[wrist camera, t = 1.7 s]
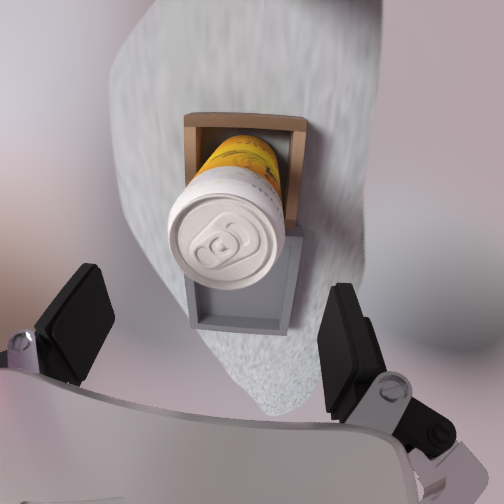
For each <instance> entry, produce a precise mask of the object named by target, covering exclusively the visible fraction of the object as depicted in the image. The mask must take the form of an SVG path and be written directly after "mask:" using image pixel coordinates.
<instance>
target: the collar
mask: <svg viewBox="0 0 504 504" xmlns="http://www.w3.org/2000/svg"><path fill="white" fill-rule="evenodd" d="M203 127H239V128H260V129H275V130H288V131H291V134H290V146H289V157H288V169H287V179H286V190H285V200H284V206H283V216H284V225H285V229H292V230H295V227H296V219H297V211H298V203H299V195H300V186H301V177H302V168H303V159H304V150H305V140H306V129H307V120H306V119H305V118H303V117H296V116H285V115H273V114H257V113H229V112H197V113H190V114H187V115H184V154H185V183H186V187H187V186H188V184H189V183H190V182H191V180H192V179H193V178H194V176H195V175H196V174H197V173H198V171H199V170H200V169H201V168H202V166H203Z"/></svg>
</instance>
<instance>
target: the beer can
mask: <svg viewBox="0 0 504 504" xmlns="http://www.w3.org/2000/svg"><path fill="white" fill-rule="evenodd" d="M168 236H169V247H170V251H171V254H172V257H173V259H174V261H175V262H176V264H177V265H178V267H179V268H180V269H181V270H182V271H183V272H184V273H185V274H186V275H187V276H188V277H189V278H191V279H192V280H194V281H195V282H197V283H199V284H201V285H204V286H206V287H209V288H213V289H219V290H236V289H241V288H245V287H248V286H250V285H253V284H254V283H256V282H258V281H259V280H261V279H262V278H263V277H264V276H265V275H266V274H267V273H268V272H269V271H270V269H271V268H272V266H273V265H274V263H275V262H276V261H277V259H278V258H279V256H280V254H281V252H282V250H283V246H284V242H285V225H284V216H283V206H282V197H281V188H280V180H279V171H278V163H277V158H276V155H275V153H274V151H273V150H272V148H271V147H270V146H269V145H268V144H267V143H266V142H264V141H263V140H261V139H260V138H257V137H255V136H250V135H238V136H234V137H231V138H229V139H227V140H225V141H224V142H223V143H222V144H221V145H220V146H219V147H218V148H217V149H216V150H215V152H214V153H213V154H212V155H211V156H210V158H209V159H208V160H207V161H206V163H205V164H204V165H203V166H202V168H201V169H200V170H199V171H198V173H197V174H196V175H195V176H194V178H193V179H192V180H191V182H190V183H189V184H188V186H187V187H186V188H185V189H184V191H183V192H182V193H181V195H180V196H179V197H178V199H177V200H176V202H175V203H174V205H173V207H172V209H171V211H170V214H169V218H168Z"/></svg>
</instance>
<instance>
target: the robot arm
mask: <svg viewBox="0 0 504 504" xmlns="http://www.w3.org/2000/svg"><path fill="white" fill-rule="evenodd" d="M114 321H115V314H114V311H113V308H112V305H111V302H110V299H109V296H108V293H107V289H106V286H105V283H104V279H103V276H102V272H101V269H100V268H98V266H97V265H96V264H89V263H84V264H82V265H81V267H80V268H79V269H78V270H77V271H76V272H75V274H74V275H73V276H72V278H70V280H69V281H68V282H67V283H66V285H65V286H64V287H63V289H62V290H61V291H60V292H59V293H58V295H57V296H56V297H55V299H54V300H53V301H52V302H51V304H50V305H49V306H48V308H47V309H46V311H45V312H44V313H43V315H42V316H41V317H40V319H39V320H38V322H37V323H36V324H35V326H34V327H35V329H36V331H35V333H33V332H32V331H31V330H29V329H23V330H19V331H17V332H16V333H14V334H13V335H12V336H11V338H10V339H9V341H8V346H7V347H8V349H7V350H6V351H3V352H0V504H474V503H475V501H476V500H477V498H479V496H480V495H481V494H482V493H483V491H484V490H485V488H486V486H487V484H488V480H489V477H488V472H487V470H486V469H485V468H484V467H483V465H482V464H481V463H480V462H479V461H478V459H477V458H476V457H475V456H474V455H473V454H472V452H471V451H470V450H469V449H468V448H467V447H466V446H465V445H464V444H463V442H462V441H461V442H459V443H458V441H457V440H456V430H455V427H454V425H453V424H452V422H451V421H449V420H448V419H447V418H445V417H444V416H442V415H440V414H439V413H437V412H435V411H434V410H432V409H431V408H429V407H428V406H426V405H424V404H423V403H421V402H420V401H418V400H416V399H415V398H413V397H412V386H411V384H410V382H409V381H408V379H407V378H406V377H404V376H403V375H402V374H400V373H397V372H392V371H388V372H387V369H386V366H385V363H384V359H383V356H382V353H381V350H380V347H379V344H378V341H377V338H376V335H375V332H374V329H373V326H372V323H371V321H370V319H369V318H368V317H363V314H362V311H361V308H360V305H359V302H358V299H357V296H356V294H355V291H354V288H353V285H352V284H351V283H337V284H336V286H332V287H331V289H330V293H329V296H328V300H327V304H326V308H325V311H324V315H323V318H322V322H321V325H320V329H319V332H318V337H317V343H318V350H319V357H320V365H321V372H322V380H323V388H324V397H325V406H326V412H327V413H331V419H332V420H339V421H340V423H319V422H318V423H316V422H274V421H255V420H241V419H230V418H220V417H211V416H203V415H197V414H190V413H184V412H177V411H172V410H166V409H160V408H156V407H151V406H146V405H142V404H137V403H133V402H129V401H125V400H121V399H117V398H113V397H109V396H106V395H102V394H99V393H95V392H92V391H89V390H85V389H82V388H79V387H80V384H81V382H82V381H84V380H85V379H86V377H87V375H88V373H89V371H90V369H91V367H92V365H93V363H94V361H95V359H96V357H97V355H98V353H99V351H100V349H101V347H102V345H103V343H104V341H105V339H106V337H107V335H108V333H109V331H110V329H111V328H112V325H113V323H114ZM68 382H69V384H67V383H68ZM70 384H72V385H70ZM73 385H75V386H73ZM76 386H78V387H76ZM413 471H415V472H416V473H417V475H418V476H419V478H418V480H419V481H420V482H421V484H422V486H423V488H424V495H423V498H422V500H421V501H420V502H419V498H418V491H417V485H416V481H415V476H414V472H413Z"/></svg>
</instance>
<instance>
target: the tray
mask: <svg viewBox="0 0 504 504" xmlns="http://www.w3.org/2000/svg"><path fill="white" fill-rule="evenodd" d="M303 239H304V236H303V231H302V226H301V225H296V227H295V230H292V229H285V242H284V246H283V250H282V252H281V254H280V256H279V258H278V259H277V261H276V262H275V263H274V265H273V266H272V268H271V269H270V271H269V272H268V273H267V274H266V275H265V276H264V277H263V278H262V279H261V280H259V281H258V282H256V283H254V284H253V285H250V286H248V287H245V288H241V289H236V290H219V289H213V288H209V287H206V286H204V285H201V284H199V283H197V282H195V281H194V280H192V279H191V278H189V277H188V276H187V275H186V274H185V273H184V278H185V286H186V294H187V302H188V310H189V317H190V324H191V328H193V329H202V330H212V331H223V332H234V333H247V334H263V335H281V336H287V331H288V326H289V320H290V315H291V310H292V304H293V299H294V293H295V288H296V282H297V276H298V270H299V264H300V258H301V252H302V246H303Z"/></svg>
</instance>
